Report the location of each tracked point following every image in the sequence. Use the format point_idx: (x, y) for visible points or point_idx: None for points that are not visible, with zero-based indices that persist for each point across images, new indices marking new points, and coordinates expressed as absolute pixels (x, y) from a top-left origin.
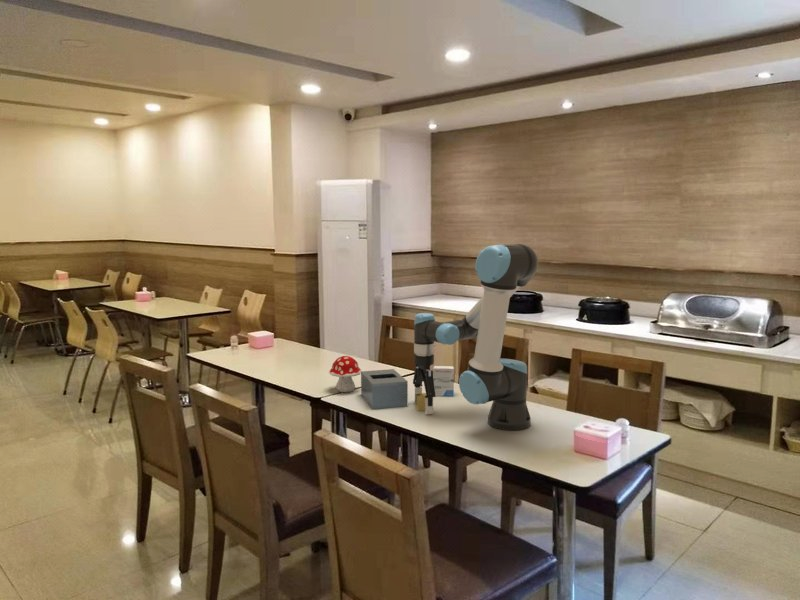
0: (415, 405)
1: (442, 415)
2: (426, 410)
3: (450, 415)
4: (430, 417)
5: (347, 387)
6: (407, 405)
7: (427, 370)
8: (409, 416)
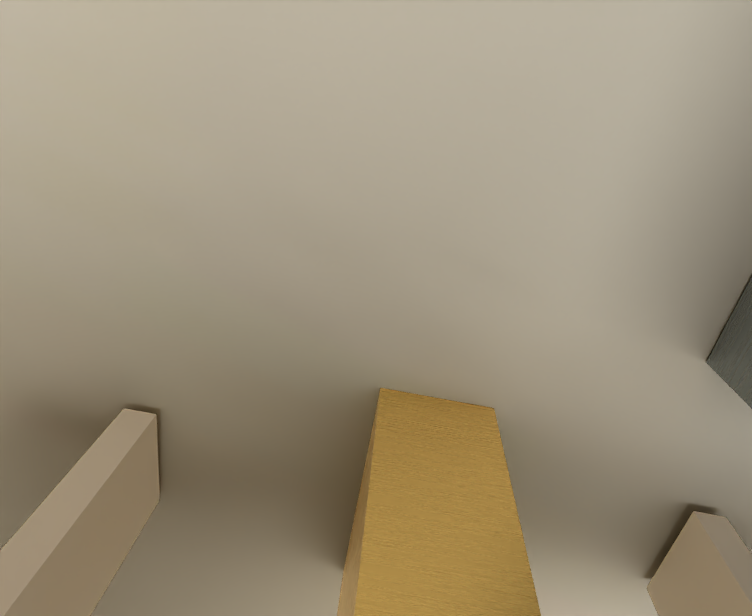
0: (495, 451)
1: None
2: (84, 460)
3: None
4: (3, 402)
5: None
6: (715, 371)
7: None
8: (121, 107)
